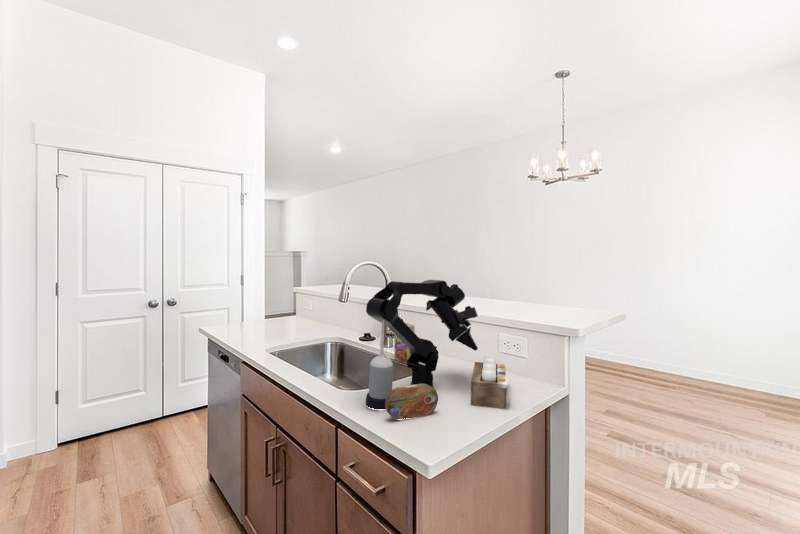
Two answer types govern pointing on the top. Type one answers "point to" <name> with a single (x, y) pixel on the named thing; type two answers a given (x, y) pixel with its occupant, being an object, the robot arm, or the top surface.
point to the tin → (411, 401)
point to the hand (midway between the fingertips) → (476, 349)
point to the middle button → (489, 366)
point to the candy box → (402, 348)
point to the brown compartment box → (489, 388)
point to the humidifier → (380, 377)
